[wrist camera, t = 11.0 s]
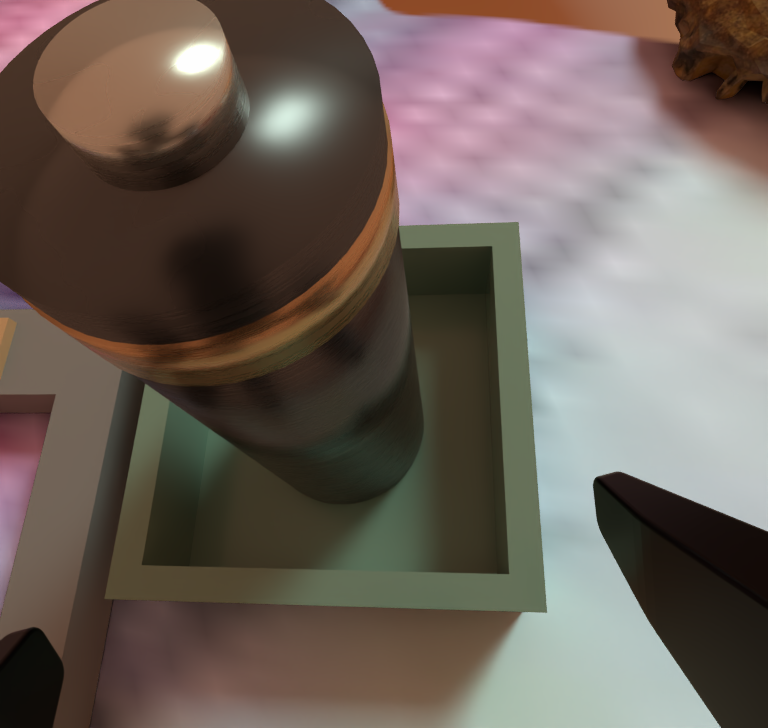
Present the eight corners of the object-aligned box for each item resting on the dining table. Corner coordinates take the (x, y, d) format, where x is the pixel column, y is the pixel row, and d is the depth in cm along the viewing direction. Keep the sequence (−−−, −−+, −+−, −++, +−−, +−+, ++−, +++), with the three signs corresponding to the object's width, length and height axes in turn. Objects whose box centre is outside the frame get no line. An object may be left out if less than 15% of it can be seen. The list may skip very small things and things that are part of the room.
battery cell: (406, 523, 17) (295, 322, 4) (245, 486, 18) (-217, 236, 5) (439, 364, 18) (425, -92, 6) (291, 338, 19) (23, -105, 7)
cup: (525, 608, 16) (546, 612, 13) (167, 597, 17) (104, 599, 14) (505, 281, 20) (518, 222, 17) (214, 287, 21) (174, 233, 18)
